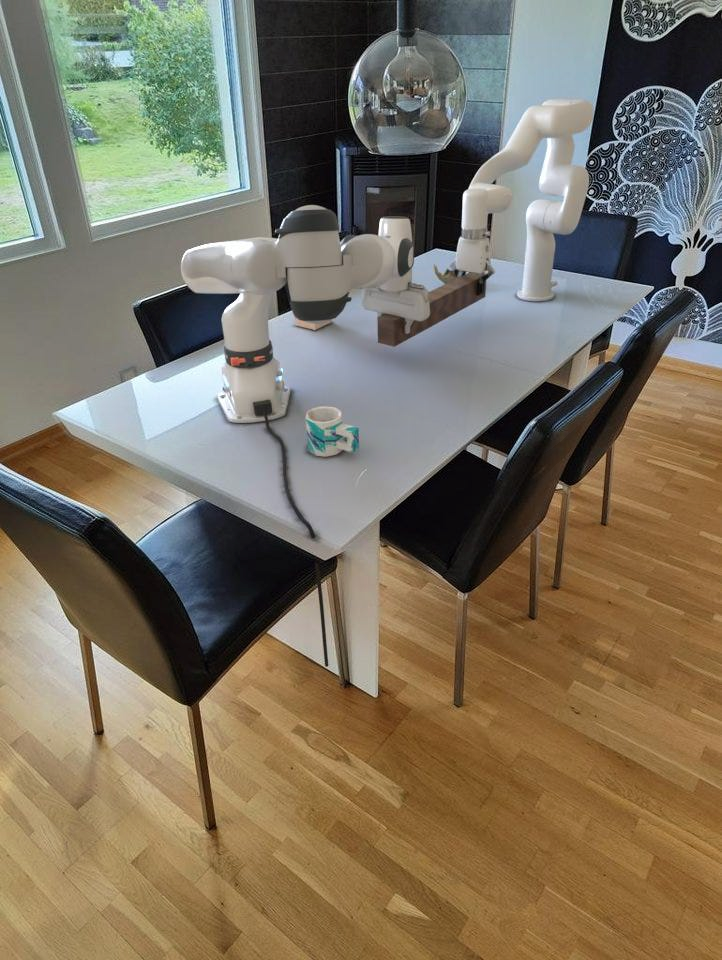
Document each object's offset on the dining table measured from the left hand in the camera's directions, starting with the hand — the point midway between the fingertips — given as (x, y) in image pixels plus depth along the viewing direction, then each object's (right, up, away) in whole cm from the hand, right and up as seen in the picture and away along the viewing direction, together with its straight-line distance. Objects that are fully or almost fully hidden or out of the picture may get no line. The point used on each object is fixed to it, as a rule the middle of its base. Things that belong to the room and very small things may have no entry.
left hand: (395, 330), depth 184 cm
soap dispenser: (-23, +9, +33) cm, 41 cm away
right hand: (+25, +18, +27) cm, 41 cm away
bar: (+13, +7, +15) cm, 21 cm away
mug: (-16, -35, -35) cm, 51 cm away
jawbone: (+24, +31, +65) cm, 76 cm away
